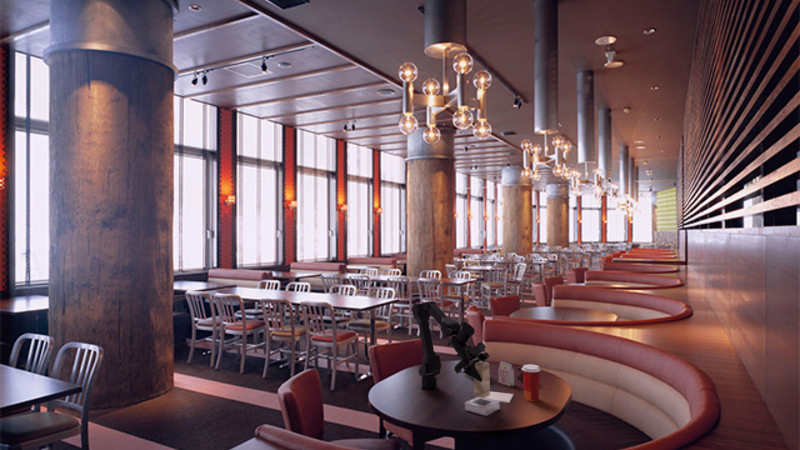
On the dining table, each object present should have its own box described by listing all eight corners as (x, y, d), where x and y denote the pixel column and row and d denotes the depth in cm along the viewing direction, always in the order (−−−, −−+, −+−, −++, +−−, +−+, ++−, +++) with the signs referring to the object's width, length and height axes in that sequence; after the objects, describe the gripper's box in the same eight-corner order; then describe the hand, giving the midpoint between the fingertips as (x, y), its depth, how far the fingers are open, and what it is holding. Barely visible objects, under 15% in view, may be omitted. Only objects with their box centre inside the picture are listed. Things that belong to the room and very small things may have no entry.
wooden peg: (474, 395, 200) (473, 363, 200) (480, 392, 203) (480, 361, 203) (483, 398, 197) (483, 365, 197) (489, 395, 200) (489, 363, 200)
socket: (465, 409, 199) (464, 402, 200) (478, 403, 207) (478, 396, 207) (486, 416, 193) (485, 408, 193) (499, 408, 200) (499, 401, 200)
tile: (476, 399, 212) (476, 397, 212) (482, 391, 221) (482, 390, 221) (509, 403, 206) (509, 401, 206) (513, 395, 216) (513, 394, 216)
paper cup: (541, 397, 213) (540, 364, 213) (540, 403, 206) (539, 369, 206) (522, 395, 216) (522, 363, 216) (521, 401, 208) (520, 368, 209)
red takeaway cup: (544, 371, 229) (525, 366, 243) (531, 369, 227) (512, 364, 240) (542, 386, 228) (523, 380, 242) (529, 384, 225) (510, 378, 239)
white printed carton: (503, 381, 236) (502, 360, 236) (514, 384, 230) (513, 363, 230) (497, 383, 233) (497, 361, 234) (509, 386, 228) (508, 365, 228)
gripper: (459, 340, 196) (483, 373, 188) (485, 332, 209) (508, 363, 202) (444, 357, 201) (467, 389, 193) (470, 348, 215) (492, 378, 207)
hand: (484, 379), depth 199 cm, fingers closed on wooden peg, 4 cm apart
